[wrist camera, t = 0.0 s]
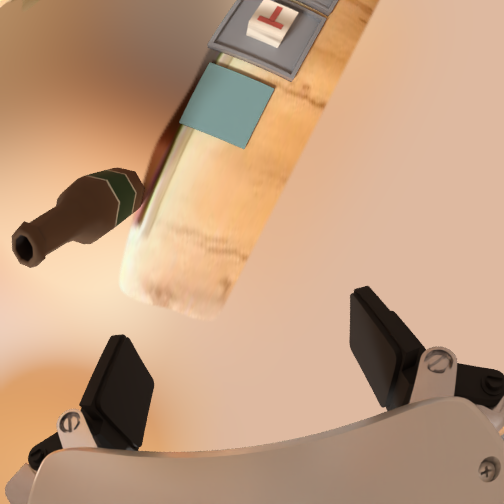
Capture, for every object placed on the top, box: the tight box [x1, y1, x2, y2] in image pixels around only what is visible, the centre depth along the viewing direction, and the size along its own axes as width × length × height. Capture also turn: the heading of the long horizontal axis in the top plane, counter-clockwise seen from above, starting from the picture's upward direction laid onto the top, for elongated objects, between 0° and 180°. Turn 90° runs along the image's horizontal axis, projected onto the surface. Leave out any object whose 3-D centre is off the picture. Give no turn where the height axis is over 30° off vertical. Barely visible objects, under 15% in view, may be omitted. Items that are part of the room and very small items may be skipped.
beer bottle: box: [12, 168, 145, 268], centre depth 26 cm, size 8×8×24 cm
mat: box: [179, 63, 274, 149], centre depth 34 cm, size 10×10×1 cm
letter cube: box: [246, 0, 299, 48], centre depth 27 cm, size 5×5×5 cm
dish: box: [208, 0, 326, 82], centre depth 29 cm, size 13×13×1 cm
